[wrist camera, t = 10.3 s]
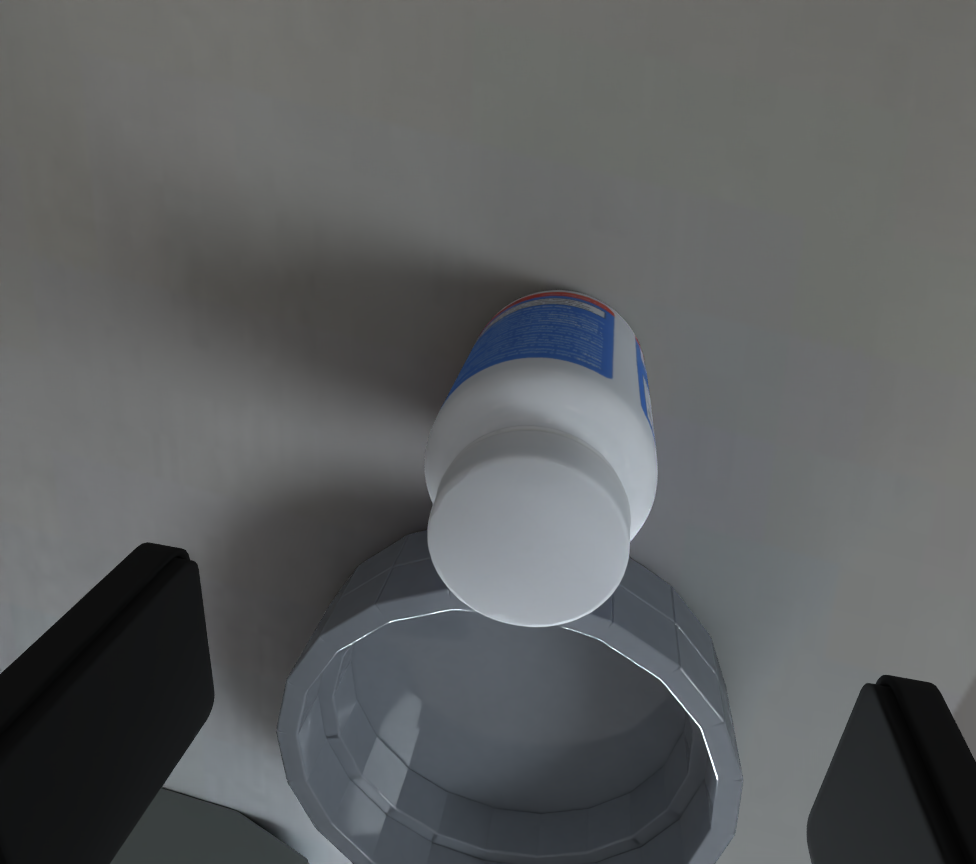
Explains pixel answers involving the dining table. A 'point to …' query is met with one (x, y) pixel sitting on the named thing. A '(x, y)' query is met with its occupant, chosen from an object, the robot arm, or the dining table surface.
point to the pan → (509, 727)
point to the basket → (200, 836)
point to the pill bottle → (542, 462)
